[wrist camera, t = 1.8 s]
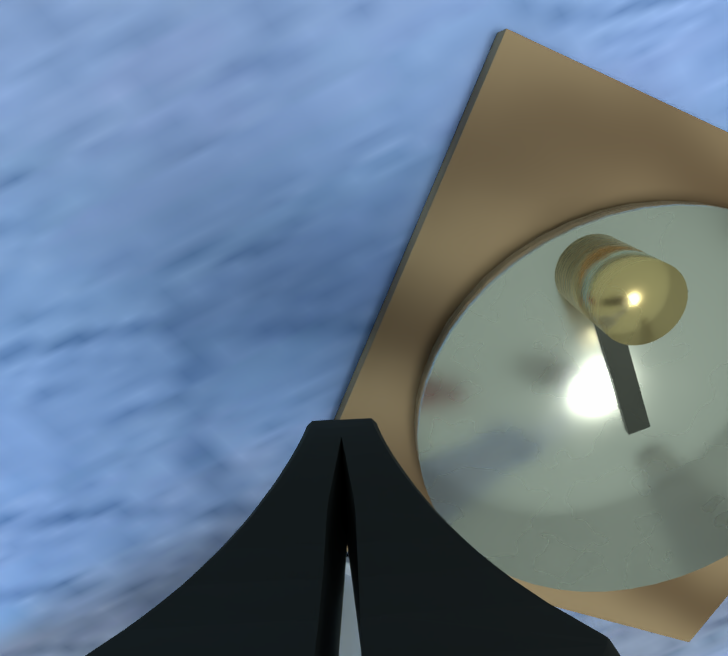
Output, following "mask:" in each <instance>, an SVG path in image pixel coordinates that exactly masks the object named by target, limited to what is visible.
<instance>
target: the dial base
mask: <svg viewBox="0 0 728 656" xmlns="http://www.w3.org/2000/svg"><path fill="white" fill-rule="evenodd" d="M661 200H664V201H690V202H698V203H703V204H709V205H714V206H720V207H724V208H728V132H726V131H724V130H722V129H720V128H717V127H715V126H713V125H711V124H709V123H707V122H705V121H702V120H700V119H698V118H696V117H694V116H692V115H690V114H688V113H685V112H683V111H681V110H679V109H677V108H675V107H673V106H670V105H668V104H666V103H664V102H662V101H660V100H658V99H656V98H653V97H651V96H649V95H647V94H645V93H643V92H641V91H638V90H636V89H634V88H632V87H630V86H628V85H626V84H624V83H621V82H619V81H617V80H615V79H613V78H611V77H609V76H606V75H604V74H602V73H600V72H598V71H596V70H594V69H592V68H589V67H587V66H585V65H583V64H581V63H579V62H577V61H574V60H572V59H570V58H568V57H566V56H564V55H562V54H560V53H557V52H555V51H553V50H551V49H549V48H547V47H545V46H542V45H540V44H538V43H536V42H534V41H532V40H530V39H528V38H525V37H523V36H521V35H519V34H517V33H515V32H513V31H510V30H508V29H505V30H503V31H500V32H498V33H497V35H496V37H495V40H494V42H493V45H492V47H491V49H490V52H489V54H488V56H487V59H486V61H485V64H484V66H483V68H482V71H481V73H480V75H479V78H478V80H477V82H476V85H475V87H474V90H473V92H472V94H471V97H470V99H469V101H468V104H467V106H466V108H465V111H464V113H463V116H462V118H461V120H460V123H459V125H458V127H457V130H456V132H455V135H454V137H453V139H452V142H451V144H450V146H449V149H448V151H447V153H446V156H445V158H444V161H443V163H442V165H441V168H440V170H439V172H438V175H437V177H436V180H435V182H434V184H433V187H432V189H431V191H430V194H429V196H428V198H427V201H426V203H425V206H424V208H423V210H422V213H421V215H420V217H419V220H418V222H417V224H416V227H415V229H414V232H413V234H412V236H411V239H410V241H409V243H408V246H407V248H406V251H405V253H404V255H403V258H402V260H401V262H400V265H399V267H398V269H397V272H396V274H395V277H394V279H393V281H392V284H391V286H390V288H389V291H388V293H387V296H386V298H385V300H384V303H383V305H382V307H381V310H380V312H379V314H378V317H377V319H376V322H375V324H374V326H373V329H372V331H371V333H370V336H369V338H368V341H367V343H366V345H365V348H364V350H363V352H362V355H361V357H360V359H359V362H358V364H357V367H356V369H355V371H354V374H353V376H352V378H351V381H350V383H349V385H348V388H347V390H346V393H345V395H344V397H343V400H342V402H341V404H340V407H339V409H338V412H337V414H336V416H335V419H334V420H343V419H363V418H372V419H373V420H374V421H375V422H376V423H377V425H378V428H379V430H380V432H381V434H382V436H383V438H384V440H385V442H386V444H387V445H388V447H389V449H390V450H391V452H392V454H393V455H394V457H395V458H396V460H397V461H398V463H399V464H400V466H401V467H402V468H403V470H404V471H405V473H406V474H407V475H408V477H409V478H410V480H411V481H412V482H413V484H414V485H415V486H416V487H417V489H418V490H419V491H420V492H421V494H422V495H423V496H424V497H425V498H426V500H427V501H428V502H429V503H430V504H431V505H432V502H431V500H430V497H429V495H428V492H427V490H426V487H425V485H424V481H423V476H422V472H421V468H420V463H419V459H418V454H417V450H416V443H415V426H414V420H415V409H416V398H417V394H418V390H419V385H420V381H421V377H422V373H423V370H424V368H425V365H426V363H427V360H428V358H429V355H430V352H431V350H432V347H433V346H434V344H435V342H436V340H437V338H438V337H439V335H440V333H441V331H442V329H443V328H444V326H445V324H446V322H447V321H448V319H449V318H450V317H451V315H452V314H453V313H454V311H455V310H456V309H457V307H458V306H459V304H460V303H461V302H462V300H463V299H464V298H465V297H466V296H467V295H468V294H469V292H470V291H471V290H472V289H473V288H474V287H475V286H476V285H477V284H478V283H479V282H480V281H481V280H482V279H483V278H484V276H485V275H487V274H488V273H489V272H490V271H491V270H493V269H494V268H495V267H496V266H497V265H499V264H500V263H501V262H502V261H503V260H505V259H506V258H507V257H508V256H509V255H511V254H512V253H514V252H515V251H517V250H518V249H520V248H521V247H523V246H524V245H526V244H527V243H529V242H530V241H532V240H533V239H535V238H536V237H538V236H540V235H542V234H544V233H546V232H548V231H550V230H552V229H554V228H556V227H558V226H560V225H562V224H564V223H566V222H569V221H571V220H574V219H577V218H580V217H582V216H585V215H588V214H591V213H594V212H596V211H600V210H604V209H608V208H613V207H617V206H622V205H626V204H630V203H641V202H651V201H661ZM432 507H433V505H432ZM433 508H434V507H433ZM434 509H435V508H434ZM347 551H348V546H347ZM508 576H509V575H508ZM510 577H511V576H510ZM511 578H512V579H514V580H515V581H516V582H518V583H519V584H521V585H522V586H524V587H525V588H527V589H528V590H530V591H531V592H533V593H534V594H536V595H537V596H538V597H540V598H541V599H543V600H544V601H546V602H548V603H549V604H551V605H552V606H555V607H559V608H563V609H566V610H570V611H574V612H578V613H581V614H585V615H589V616H593V617H596V618H600V619H604V620H608V621H611V622H615V623H619V624H623V625H626V626H630V627H634V628H638V629H642V630H645V631H649V632H653V633H657V634H660V635H664V636H668V637H672V638H675V639H679V640H683V641H687V642H690V640H691V639H692V638H693V637H694V636H695V634H696V633H697V632H698V631H699V630H700V628H701V627H702V626H703V625H704V624H705V622H706V621H707V620H708V619H709V617H710V616H711V615H712V614H713V613H714V611H715V610H716V609H717V608H718V607H719V605H720V604H721V603H722V602H723V601H724V599H725V598H726V597H727V596H728V556H726V557H724V558H722V559H720V560H718V561H716V562H714V563H712V564H710V565H708V566H706V567H703V568H701V569H698V570H696V571H693V572H691V573H688V574H686V575H683V576H681V577H677V578H674V579H671V580H667V581H664V582H660V583H657V584H653V585H648V586H643V587H638V588H633V589H626V590H616V591H606V592H579V591H569V590H559V589H553V588H548V587H544V586H539V585H534V584H531V583H528V582H525V581H522V580H519V579H516V578H513V577H511Z"/></svg>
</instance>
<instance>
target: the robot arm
mask: <svg viewBox="0 0 728 656" xmlns="http://www.w3.org/2000/svg"><path fill="white" fill-rule="evenodd" d="M347 546H348V554H349V558H348V557H346V555H347ZM86 656H620V654H619V653H618V651H617V650H616V648H615V647H614V645H613V644H612V642H611V641H610V639H609V638H608V637H606V636H604V635H603V634H601V633H599V632H598V631H596V630H594V629H592V628H591V627H589V626H587V625H585V624H584V623H582V622H580V621H578V620H577V619H575V618H573V617H572V616H570V615H568V614H566V613H565V612H563V611H561V610H559V609H558V608H556V607H554V606H552V605H551V604H549V603H548V602H546V601H544V600H543V599H541V598H540V597H538V596H537V595H536V594H534V593H533V592H531V591H530V590H528V589H527V588H525V587H524V586H522V585H521V584H519V583H518V582H516V581H515V580H514V579H512V578H511V577H510V576H508V575H507V574H506V573H504V572H503V571H502V570H501V569H499V568H498V567H497V566H496V565H494V564H493V563H492V562H490V561H489V560H488V559H487V558H485V557H484V556H483V555H482V554H480V553H479V552H478V551H477V550H476V549H475V548H474V547H472V546H471V545H470V544H469V543H468V542H467V541H466V540H465V539H464V538H463V537H461V536H460V535H459V534H458V533H457V532H456V531H455V530H454V529H453V528H452V527H451V526H450V525H449V524H448V523H447V522H446V521H445V520H444V519H443V518H442V516H441V515H440V514H439V513H438V512H437V511H436V510H435V509H434V508H433V507H432V505H431V504H430V503H429V502H428V501H427V500H426V498H425V497H424V496H423V495H422V494H421V492H420V491H419V490H418V489H417V487H416V486H415V485H414V484H413V482H412V481H411V480H410V478H409V477H408V475H407V474H406V473H405V471H404V470H403V468H402V467H401V466H400V464H399V463H398V461H397V460H396V458H395V457H394V455H393V454H392V452H391V450H390V449H389V447H388V445H387V444H386V442H385V440H384V438H383V436H382V434H381V432H380V430H379V428H378V425H377V423H376V422H375V421H374V420H373V419H372V418H363V419H343V420H322V421H312V422H311V423H310V424H309V425H308V426H307V428H306V430H305V432H304V434H303V437H302V439H301V441H300V442H299V444H298V446H297V448H296V450H295V451H294V453H293V455H292V457H291V458H290V460H289V462H288V463H287V465H286V466H285V468H284V469H283V471H282V473H281V474H280V476H279V477H278V479H277V480H276V482H275V483H274V485H273V486H272V487H271V489H270V490H269V491H268V493H267V494H266V495H265V497H264V498H263V499H262V501H261V502H260V503H259V505H258V506H257V507H256V509H255V510H254V511H253V513H252V514H251V515H250V516H249V518H248V519H247V520H246V521H245V522H244V524H243V525H242V526H241V527H240V528H239V529H238V530H237V532H236V533H235V534H234V535H233V536H232V537H231V538H230V539H229V540H228V541H227V542H226V544H225V545H224V546H223V547H222V548H221V549H220V550H219V551H218V552H217V553H216V554H215V555H214V556H213V557H212V558H211V559H210V560H209V561H207V562H206V563H205V564H204V565H203V566H202V567H201V568H200V569H199V570H198V571H197V572H196V573H195V574H194V575H193V576H192V577H191V578H190V579H188V580H187V581H186V582H185V583H184V584H183V585H182V586H181V587H179V588H178V589H177V590H176V591H174V592H173V593H172V594H171V595H169V596H168V597H167V598H166V599H165V600H163V601H162V602H161V603H160V604H158V605H157V606H156V607H154V608H153V609H152V610H150V611H149V612H148V613H146V614H145V615H144V616H142V617H141V618H140V619H139V620H137V621H136V622H134V623H133V624H132V625H130V626H129V627H127V628H126V629H125V630H123V631H122V632H120V633H119V634H117V635H116V636H114V637H113V638H111V639H110V640H108V641H107V642H105V643H104V644H102V645H101V646H99V647H98V648H96V649H95V650H93V651H92V652H90V653H89V654H87V655H86Z"/></svg>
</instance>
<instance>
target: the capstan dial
mask: <svg viewBox="0 0 728 656" xmlns="http://www.w3.org/2000/svg"><path fill="white" fill-rule="evenodd" d="M414 426H415V443H416V450H417V454H418V459H419V463H420V468H421V472H422V476H423V481H424V485H425V487H426V490H427V492H428V495H429V497H430V500H431V502H432V505H433V507H434V508H435V510H436V511H437V512H438V513H439V514H440V515H441V516H442V518H443V519H444V520H445V521H446V522H447V523H448V524H449V525H450V526H451V527H452V528H453V529H454V530H455V531H456V532H457V533H458V534H459V535H460V536H461V537H463V538H464V539H465V540H466V541H467V542H468V543H469V544H470V545H471V546H472V547H474V548H475V549H476V550H477V551H478V552H479V553H480V554H482V555H483V556H484V557H485V558H487V559H488V560H489V561H490V562H492V563H493V564H494V565H496V566H497V567H498V568H499V569H501V570H502V571H503V572H504V573H506V574H507V575H509V576H511V577H513V578H516V579H519V580H522V581H525V582H528V583H531V584H534V585H539V586H544V587H548V588H553V589H559V590H569V591H579V592H606V591H616V590H626V589H633V588H638V587H643V586H648V585H653V584H657V583H660V582H664V581H667V580H671V579H674V578H677V577H681V576H683V575H686V574H688V573H691V572H693V571H696V570H698V569H701V568H703V567H706V566H708V565H710V564H712V563H714V562H716V561H718V560H720V559H722V558H724V557H726V556H728V208H724V207H720V206H714V205H709V204H703V203H698V202H690V201H664V200H661V201H651V202H641V203H630V204H626V205H622V206H617V207H613V208H608V209H604V210H600V211H596V212H594V213H591V214H588V215H585V216H582V217H580V218H577V219H574V220H571V221H569V222H566V223H564V224H562V225H560V226H558V227H556V228H554V229H552V230H550V231H548V232H546V233H544V234H542V235H540V236H538V237H536V238H535V239H533V240H532V241H530V242H529V243H527V244H526V245H524V246H523V247H521V248H520V249H518V250H517V251H515V252H514V253H512V254H511V255H509V256H508V257H507V258H506V259H505V260H503V261H502V262H501V263H500V264H499V265H497V266H496V267H495V268H494V269H493V270H491V271H490V272H489V273H488V274H487V275H485V276H484V278H483V279H482V280H481V281H480V282H479V283H478V284H477V285H476V286H475V287H474V288H473V289H472V290H471V291H470V292H469V294H468V295H467V296H466V297H465V298H464V299H463V300H462V302H461V303H460V304H459V306H458V307H457V309H456V310H455V311H454V313H453V314H452V315H451V317H450V318H449V319H448V321H447V322H446V324H445V326H444V328H443V329H442V331H441V333H440V335H439V337H438V338H437V340H436V342H435V344H434V346H433V347H432V350H431V352H430V355H429V358H428V360H427V363H426V365H425V368H424V370H423V373H422V377H421V381H420V385H419V390H418V394H417V398H416V409H415V420H414Z"/></svg>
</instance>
